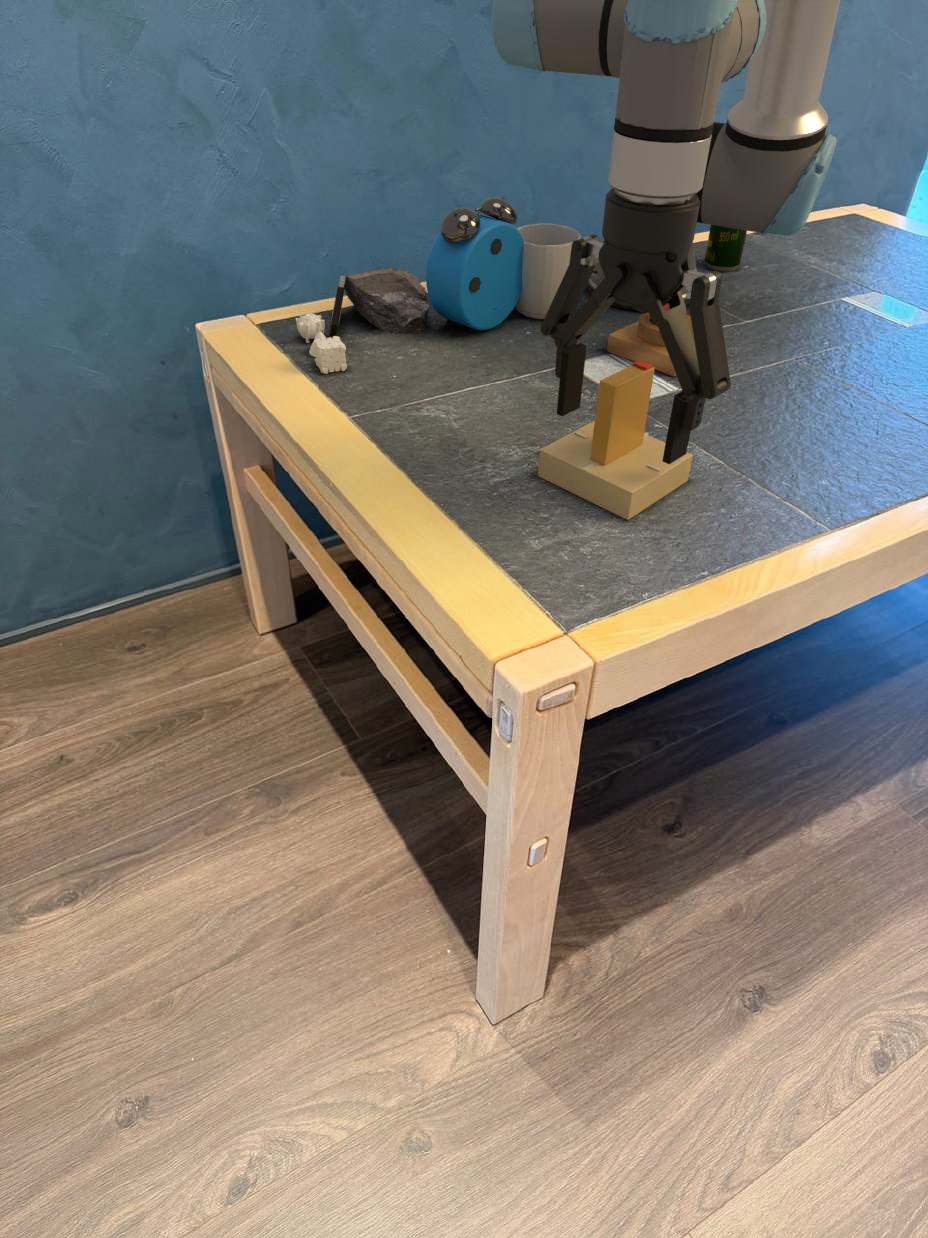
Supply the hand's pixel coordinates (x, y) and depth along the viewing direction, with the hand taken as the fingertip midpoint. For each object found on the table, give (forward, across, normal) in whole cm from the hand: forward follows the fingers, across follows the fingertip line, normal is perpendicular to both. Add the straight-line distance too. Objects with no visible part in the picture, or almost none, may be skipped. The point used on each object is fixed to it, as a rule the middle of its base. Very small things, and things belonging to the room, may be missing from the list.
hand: (619, 433), depth 86 cm
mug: (+5, +35, -28) cm, 45 cm away
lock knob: (+2, 0, 0) cm, 2 cm away
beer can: (+5, +27, -62) cm, 67 cm away
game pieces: (+5, +43, +2) cm, 43 cm away
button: (+1, +14, -29) cm, 32 cm away
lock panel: (+5, 0, 0) cm, 5 cm away
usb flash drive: (+4, +48, -5) cm, 48 cm away
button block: (+5, +14, -29) cm, 33 cm away
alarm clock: (+5, +36, -18) cm, 41 cm away
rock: (+6, +43, -13) cm, 46 cm away
